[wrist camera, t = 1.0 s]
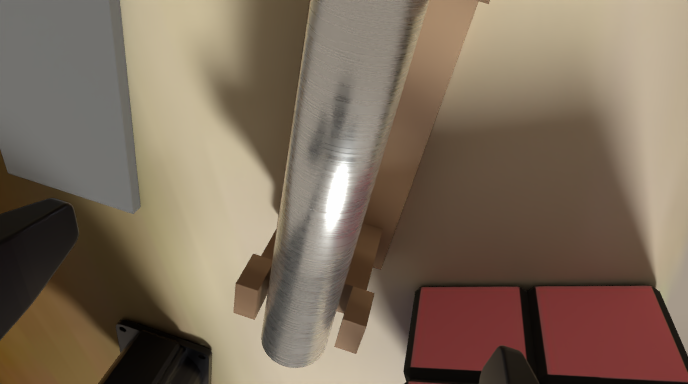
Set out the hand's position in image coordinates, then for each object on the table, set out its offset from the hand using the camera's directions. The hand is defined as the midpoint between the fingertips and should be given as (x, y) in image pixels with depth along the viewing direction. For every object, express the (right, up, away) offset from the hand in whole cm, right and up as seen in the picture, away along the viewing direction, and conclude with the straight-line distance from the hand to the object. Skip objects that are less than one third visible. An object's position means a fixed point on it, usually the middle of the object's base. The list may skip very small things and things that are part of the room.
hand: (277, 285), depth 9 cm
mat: (-11, +8, +10) cm, 17 cm away
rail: (+1, +3, +4) cm, 5 cm away
